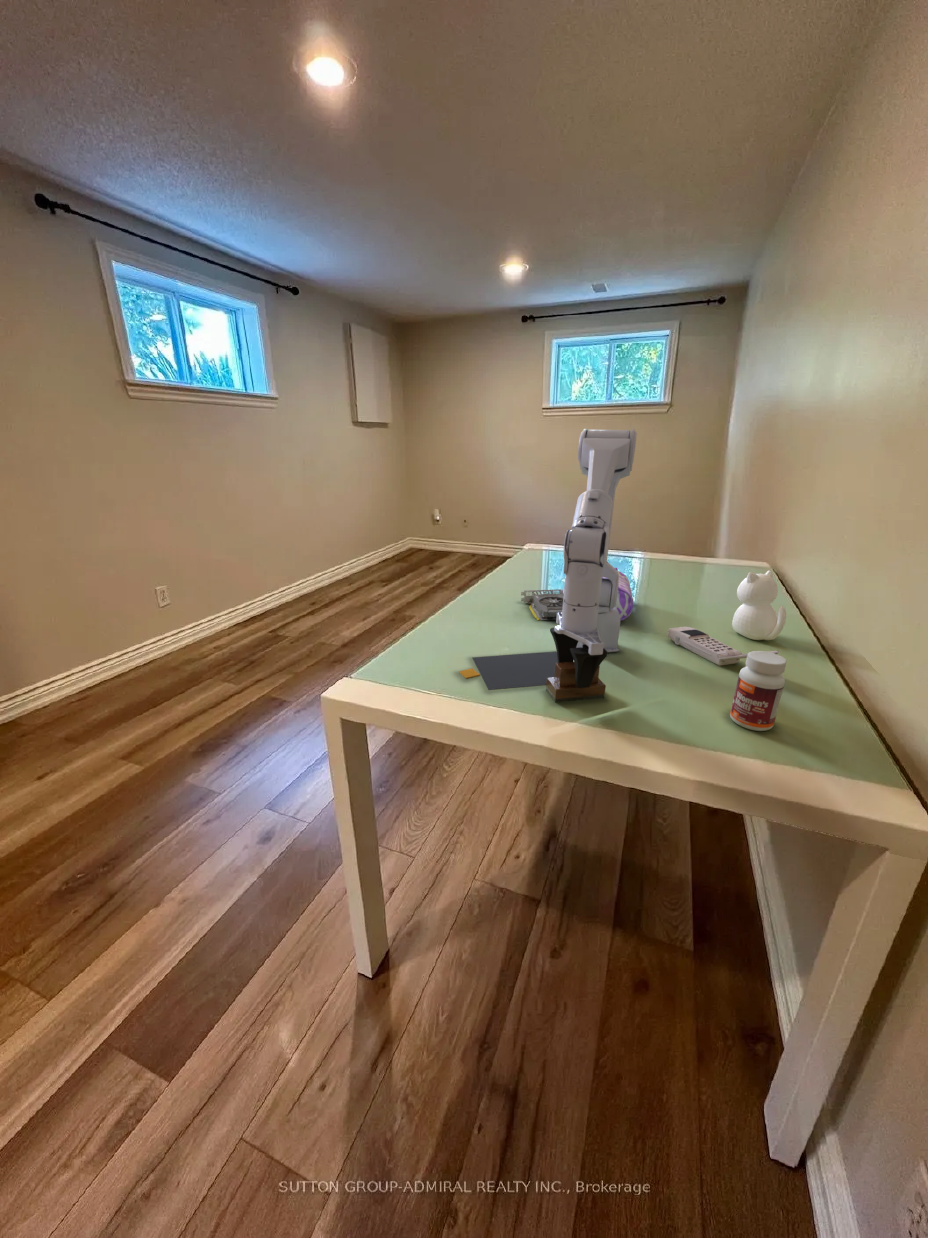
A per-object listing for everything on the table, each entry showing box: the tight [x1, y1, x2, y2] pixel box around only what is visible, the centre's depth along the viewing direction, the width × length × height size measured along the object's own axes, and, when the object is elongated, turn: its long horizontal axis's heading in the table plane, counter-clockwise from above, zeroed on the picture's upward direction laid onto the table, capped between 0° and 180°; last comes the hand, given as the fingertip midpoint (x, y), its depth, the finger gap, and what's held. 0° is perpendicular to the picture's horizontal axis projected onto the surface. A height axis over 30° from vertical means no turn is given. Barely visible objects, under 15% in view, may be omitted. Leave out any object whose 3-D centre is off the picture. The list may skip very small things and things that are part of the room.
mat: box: [471, 651, 558, 691], centre depth 95 cm, size 18×14×1 cm
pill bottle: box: [729, 650, 787, 732], centre depth 76 cm, size 6×6×11 cm
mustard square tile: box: [458, 667, 481, 680], centre depth 92 cm, size 3×3×1 cm
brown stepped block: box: [545, 661, 607, 703], centre depth 85 cm, size 9×4×6 cm, turn 101°
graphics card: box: [520, 589, 564, 621], centre depth 128 cm, size 17×4×12 cm
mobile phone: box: [667, 626, 779, 666], centre depth 101 cm, size 6×6×25 cm
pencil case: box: [602, 567, 634, 622], centre depth 128 cm, size 22×9×10 cm, turn 167°
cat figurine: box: [731, 569, 787, 641], centre depth 110 cm, size 9×12×15 cm
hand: (573, 676), depth 84 cm, fingers open, 7 cm apart
